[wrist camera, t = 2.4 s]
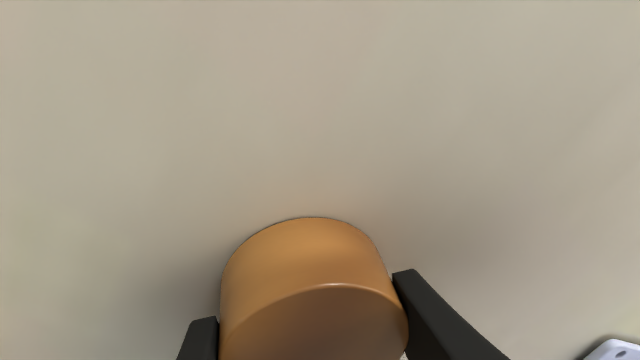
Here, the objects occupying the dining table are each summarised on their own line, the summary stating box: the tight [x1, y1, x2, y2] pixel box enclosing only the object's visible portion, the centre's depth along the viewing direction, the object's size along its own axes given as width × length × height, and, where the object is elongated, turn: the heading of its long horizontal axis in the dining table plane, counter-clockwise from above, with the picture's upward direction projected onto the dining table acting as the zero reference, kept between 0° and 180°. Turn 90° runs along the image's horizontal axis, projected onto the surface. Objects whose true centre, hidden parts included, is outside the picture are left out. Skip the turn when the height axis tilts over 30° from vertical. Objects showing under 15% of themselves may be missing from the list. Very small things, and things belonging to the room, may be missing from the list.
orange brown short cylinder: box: [218, 217, 409, 360], centre depth 11 cm, size 5×5×3 cm
